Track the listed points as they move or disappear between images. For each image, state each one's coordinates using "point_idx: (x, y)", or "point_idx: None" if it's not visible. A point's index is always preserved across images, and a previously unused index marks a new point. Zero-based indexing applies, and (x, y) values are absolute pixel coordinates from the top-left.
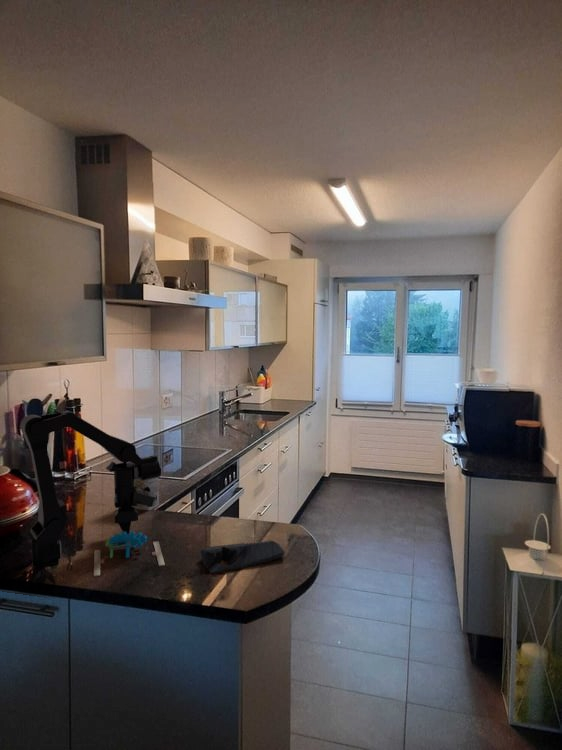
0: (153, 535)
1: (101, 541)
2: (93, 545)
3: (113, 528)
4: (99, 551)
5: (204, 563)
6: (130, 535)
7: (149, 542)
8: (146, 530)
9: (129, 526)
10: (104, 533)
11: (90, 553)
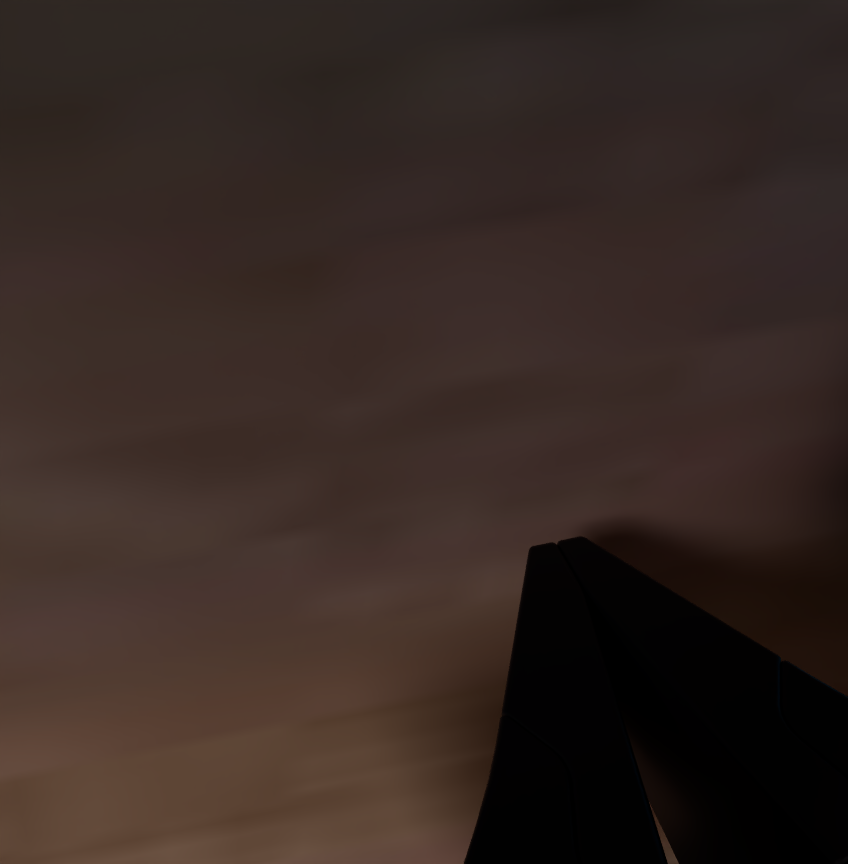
0: (340, 22)
1: (478, 781)
2: None
3: (19, 763)
4: None
5: None
6: None
7: (731, 71)
8: (39, 248)
9: (765, 667)
10: (212, 810)
11: None
